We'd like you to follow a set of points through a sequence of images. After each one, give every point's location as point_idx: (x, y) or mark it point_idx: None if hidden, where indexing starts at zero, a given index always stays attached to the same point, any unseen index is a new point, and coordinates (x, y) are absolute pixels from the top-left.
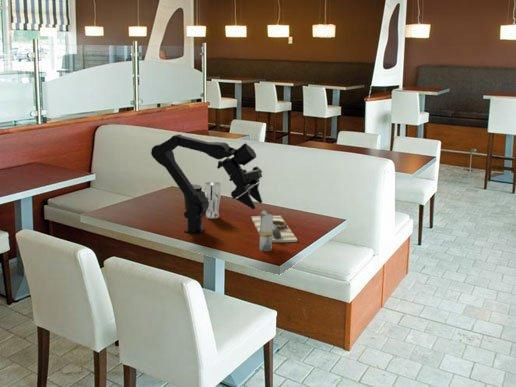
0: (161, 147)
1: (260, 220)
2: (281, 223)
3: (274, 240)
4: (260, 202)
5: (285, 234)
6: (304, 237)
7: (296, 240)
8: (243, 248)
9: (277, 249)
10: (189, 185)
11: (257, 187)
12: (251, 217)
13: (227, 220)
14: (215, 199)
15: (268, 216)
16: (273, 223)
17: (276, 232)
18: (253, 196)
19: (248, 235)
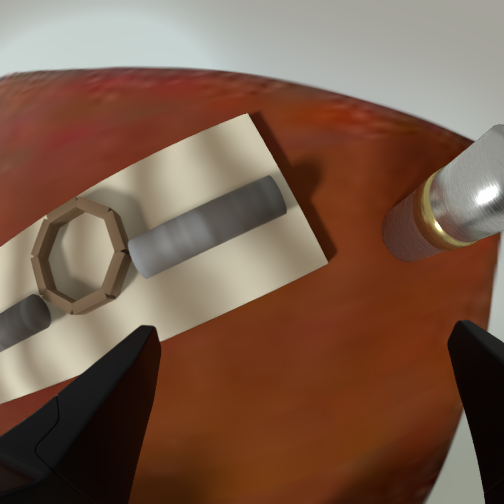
0: None
1: (23, 357)
2: (49, 237)
3: (301, 211)
4: (156, 347)
5: (188, 179)
6: (172, 108)
7: (248, 118)
8: (434, 333)
9: (386, 180)
10: None
11: (3, 484)
12: (4, 402)
13: None
14: None
15: None
16: (50, 280)
17: (281, 194)
18: (125, 472)
19: (237, 379)
